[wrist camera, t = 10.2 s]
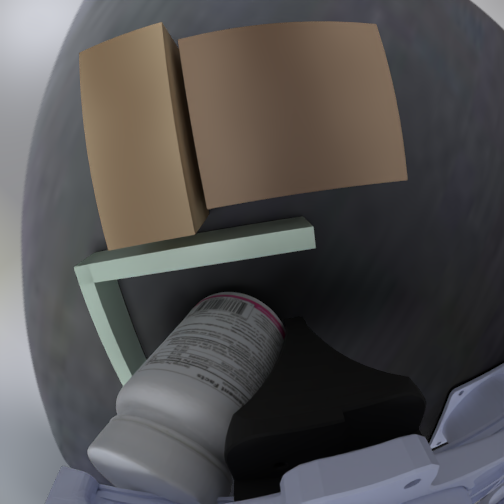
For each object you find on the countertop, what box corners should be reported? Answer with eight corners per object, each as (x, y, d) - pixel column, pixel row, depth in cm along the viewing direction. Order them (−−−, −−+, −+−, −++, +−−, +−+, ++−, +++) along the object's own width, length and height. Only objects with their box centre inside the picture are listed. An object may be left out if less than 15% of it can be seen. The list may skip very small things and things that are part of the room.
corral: (302, 216, 12) (313, 226, 10) (317, 387, 15) (324, 412, 13) (94, 252, 12) (73, 266, 10) (154, 403, 15) (146, 427, 13)
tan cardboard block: (350, 49, 10) (376, 24, 7) (374, 174, 12) (407, 180, 9) (192, 65, 10) (178, 39, 8) (216, 198, 12) (207, 209, 9)
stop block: (183, 56, 10) (161, 22, 7) (209, 214, 12) (195, 234, 9) (118, 75, 10) (79, 52, 7) (142, 227, 12) (108, 250, 9)
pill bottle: (252, 388, 14) (187, 530, 6) (176, 334, 14) (69, 455, 6) (313, 334, 12) (268, 525, 4) (223, 267, 12) (80, 414, 4)
